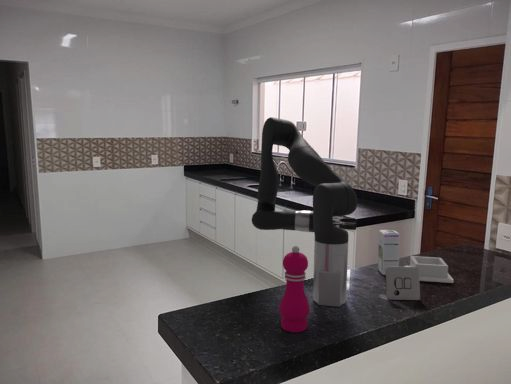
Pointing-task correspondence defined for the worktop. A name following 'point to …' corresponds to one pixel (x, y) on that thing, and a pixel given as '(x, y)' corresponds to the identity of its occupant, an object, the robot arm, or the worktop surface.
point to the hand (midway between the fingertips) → (355, 223)
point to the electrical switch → (402, 283)
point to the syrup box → (388, 250)
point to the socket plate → (431, 269)
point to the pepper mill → (294, 292)
